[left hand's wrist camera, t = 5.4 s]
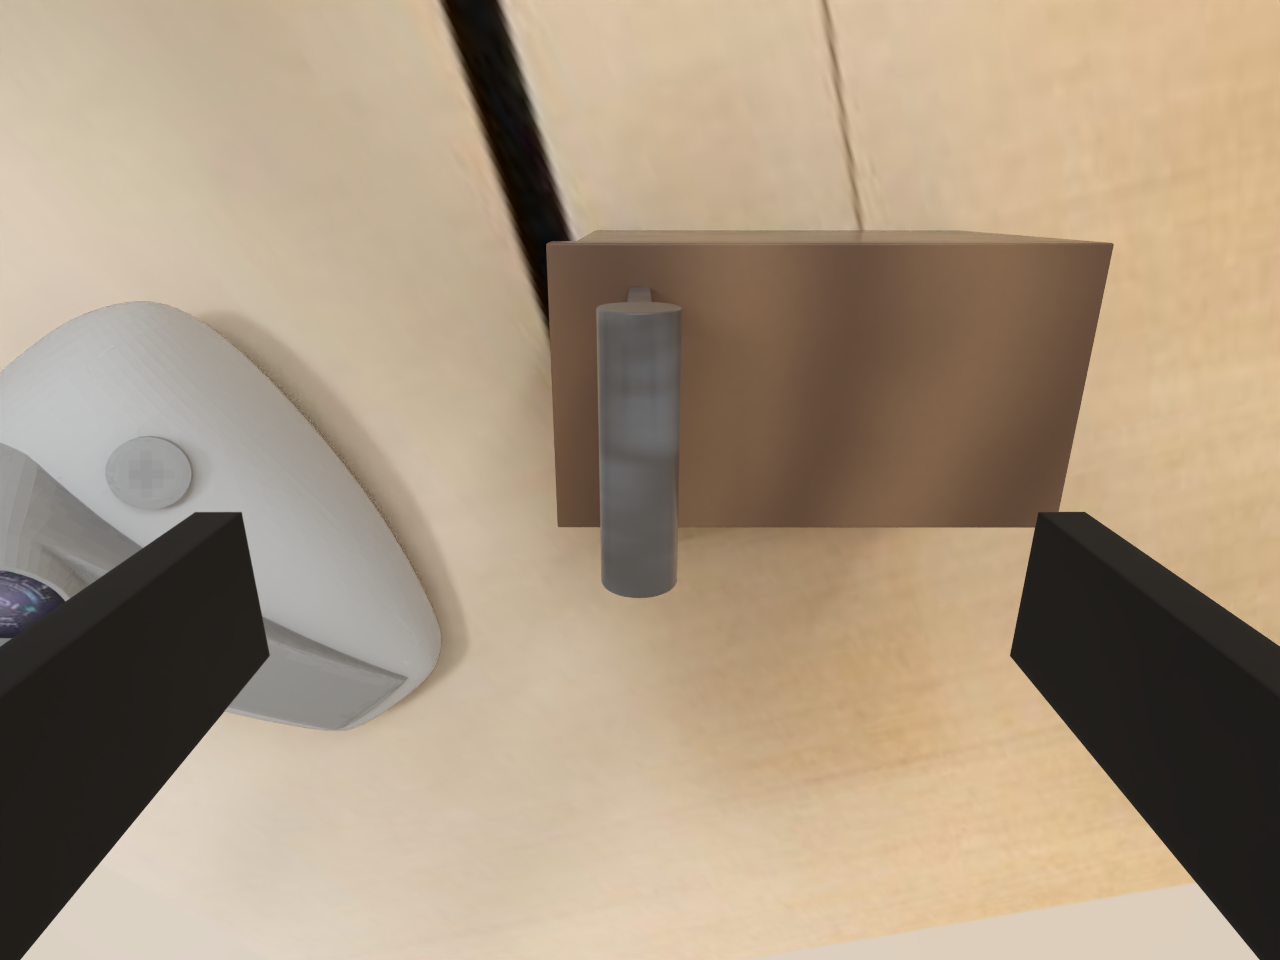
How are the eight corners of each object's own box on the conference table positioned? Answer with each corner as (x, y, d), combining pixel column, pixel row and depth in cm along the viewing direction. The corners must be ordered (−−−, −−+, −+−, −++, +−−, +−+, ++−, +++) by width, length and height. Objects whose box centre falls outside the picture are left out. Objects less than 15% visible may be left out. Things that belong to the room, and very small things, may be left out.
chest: (598, 431, 39) (583, 514, 28) (594, 230, 35) (575, 241, 25) (932, 431, 39) (1038, 514, 28) (959, 230, 35) (1092, 241, 25)
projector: (67, 684, 44) (-198, 905, 30) (-29, 277, 36) (-448, 322, 22) (450, 703, 44) (364, 930, 30) (438, 306, 36) (315, 368, 22)
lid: (561, 514, 28) (529, 638, 20) (550, 241, 25) (507, 258, 17) (1039, 514, 28) (1197, 638, 20) (1093, 241, 25) (1309, 258, 17)
